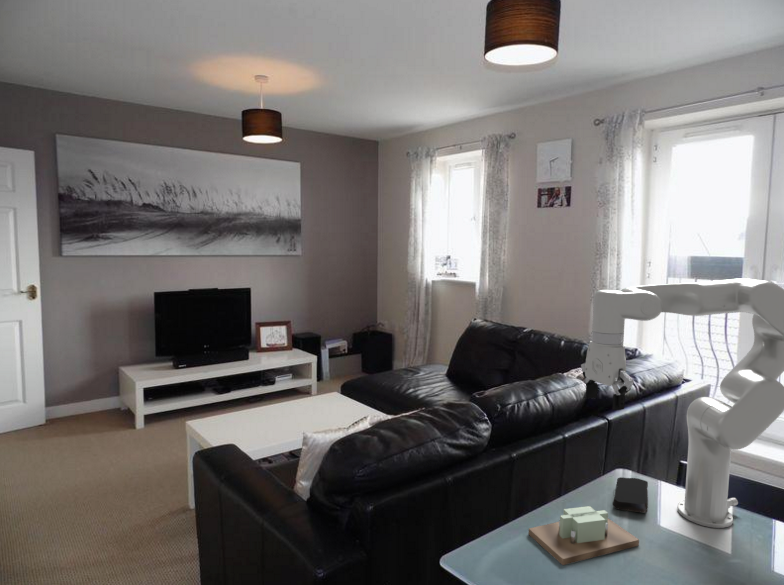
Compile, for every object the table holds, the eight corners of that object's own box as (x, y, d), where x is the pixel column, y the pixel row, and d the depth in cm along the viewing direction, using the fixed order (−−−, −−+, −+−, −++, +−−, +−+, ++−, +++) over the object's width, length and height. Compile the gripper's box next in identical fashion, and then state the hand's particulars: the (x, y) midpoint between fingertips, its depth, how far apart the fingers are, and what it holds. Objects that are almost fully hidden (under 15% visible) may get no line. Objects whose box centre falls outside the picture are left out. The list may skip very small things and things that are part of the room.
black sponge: (647, 518, 137) (648, 505, 137) (612, 510, 141) (613, 498, 140) (647, 491, 152) (648, 479, 151) (616, 485, 155) (616, 473, 155)
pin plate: (599, 517, 137) (600, 501, 136) (638, 545, 125) (639, 527, 124) (528, 534, 129) (529, 516, 129) (562, 565, 117) (563, 546, 116)
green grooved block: (568, 544, 122) (568, 524, 122) (553, 529, 128) (554, 510, 128) (613, 538, 125) (614, 518, 124) (597, 523, 131) (598, 505, 131)
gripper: (572, 333, 140) (570, 395, 142) (621, 346, 124) (617, 416, 126) (595, 331, 143) (592, 392, 144) (646, 344, 126) (641, 412, 128)
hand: (604, 403), depth 135 cm, fingers open, 9 cm apart
